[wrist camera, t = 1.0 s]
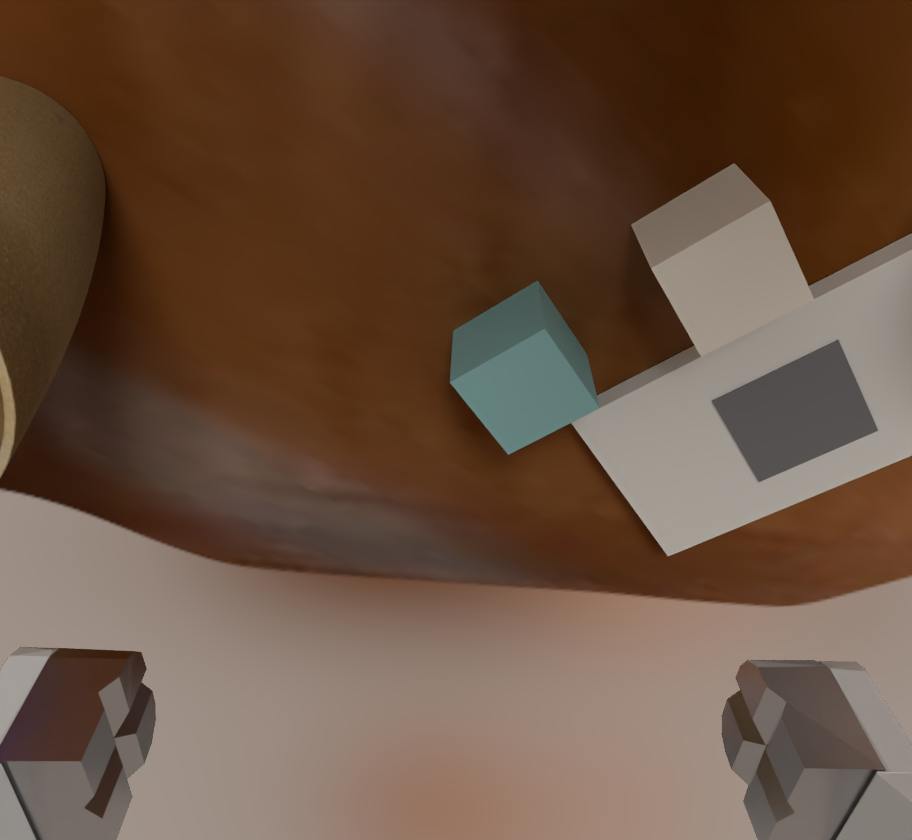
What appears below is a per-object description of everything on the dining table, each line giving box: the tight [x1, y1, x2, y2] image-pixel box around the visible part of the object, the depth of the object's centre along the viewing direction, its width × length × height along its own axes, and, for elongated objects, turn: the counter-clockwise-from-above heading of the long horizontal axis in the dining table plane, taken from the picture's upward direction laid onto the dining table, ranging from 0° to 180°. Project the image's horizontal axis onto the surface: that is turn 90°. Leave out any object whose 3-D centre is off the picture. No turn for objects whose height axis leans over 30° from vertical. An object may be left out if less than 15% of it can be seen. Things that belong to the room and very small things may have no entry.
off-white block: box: [631, 163, 814, 357], centre depth 32 cm, size 5×5×5 cm
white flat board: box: [571, 233, 912, 556], centre depth 38 cm, size 20×12×1 cm, turn 125°
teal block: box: [450, 280, 600, 455], centre depth 35 cm, size 5×5×5 cm
